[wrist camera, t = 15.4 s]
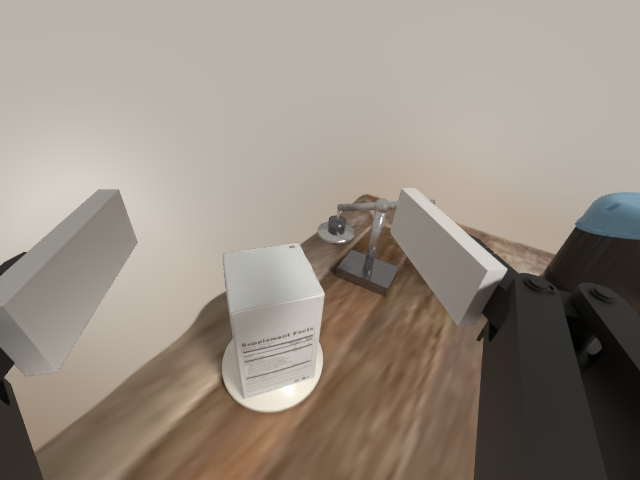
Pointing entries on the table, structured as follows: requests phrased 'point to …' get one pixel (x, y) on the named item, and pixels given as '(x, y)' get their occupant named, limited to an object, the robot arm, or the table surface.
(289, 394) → the cream dish
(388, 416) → the table surface
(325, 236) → the balance
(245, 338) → the supplement box
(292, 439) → the table surface
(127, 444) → the table surface
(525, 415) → the robot arm
